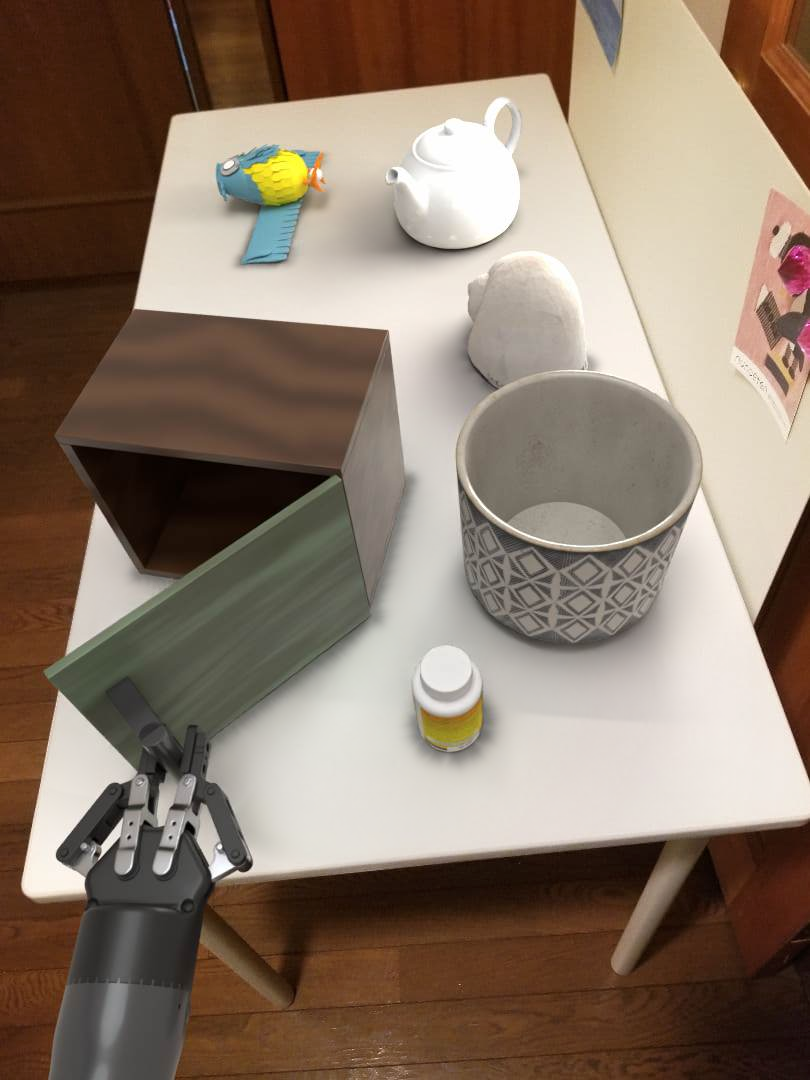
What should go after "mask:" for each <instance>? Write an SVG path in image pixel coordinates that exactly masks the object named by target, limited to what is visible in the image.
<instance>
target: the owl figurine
mask: <svg viewBox="0 0 810 1080" xmlns="http://www.w3.org/2000/svg"><path fill="white" fill-rule="evenodd" d="M324 154H325V151H323V152H321V151H308V152H306V151H305V150H303V149H292V150H288V149H286V148H285V149H284V148H280V144H275V143H274V144H272V145H268V144H264V145H262V146H260V147H258V146H255V147H254V148H253V149H251V150H250V151H249V152H247V153H246V152H243V153H240V154H235V155H233V156H230V157H228V158H226V160H225V161H223V162H221V163H219V162H217V163H216V165H215V181H216V185H217V188H218V192H219V194H220V196H221V197H222V198H223V200H224V201H225V202H227V201H228V197H227V196H231V197H233V198H236V199H238V200H242V201H247V202H250V203H253V204H254V203H255V204H260V205H261V207H260V210H259V213H258V216H257V219H256V222H255V225H254V229H253V231H252V235H251V238H250V241H249V243H248V246H247V248H246V249H247V250H246V252H245V254H243V255H242V257H241V265H246V264H247V265H248V264H265V263H274V262H281V261H284V260H286V259H287V257H288V256H287V253H289V252H290V251H291V250H290V248H289V246H291V244H292V241H291V240H290V239H292V238H293V234H292V233H293V232H294V231H295V228H294V227H295V226H296V224H297V222H296V220H298V218H299V216H298V214H299V213H300V208H302V204H301V203H302V202H303V198H302V197H303V196H304V195H305V194H306V193H307V191H308V189H309V185H310V187H312V188H313V189H314V190H316V191H318V192H321V193H324V190H323V189H322V186H320V185H319V182H320V183H322V184H323V185H326V182H325V178H324V176H323V172H322V170H321V167H322V160H323V157H324Z"/></svg>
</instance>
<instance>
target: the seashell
mask: <svg viewBox="0 0 810 1080" xmlns="http://www.w3.org/2000/svg"><path fill="white" fill-rule="evenodd" d="M467 296H468V300H467V312H468V313H467V314H468V316H469V318H470V320H471V321H472V323H473V325H472V328H471V332H470V333H469V337H468V341H467V354H468V357H469V358H470V361H471V363H472V365H473V366H474V367H475V368H476V369H477V370H478V371H479V372H480V374H482V376H483V377H484V378H485V379H486V380H487V381H488V382H489V383H490V384H491V385H492V386H493V387H495V388H497V389H500V388H501V387H503V386H505V385H507V384H509V383H512V382H514V381H516V380H519V379H522V378H525V377H528V376H531V375H535V374H540V373H545V372H552V371H563V370H582V371H588V368H589V362H588V357H587V349H586V348H587V347H586V335H585V332H586V331H585V330H586V329H585V320H584V319H585V318H584V312H583V311H584V310H583V305H582V300H581V297H580V293H579V289H578V287H577V285H576V283H575V281H574V279H573V277H572V275H571V274H570V272H569V271H568V269H567V268H566V267H565V265H564V264H563V263H561V262H560V261H559V260H558V259H556V258H555V257H553V256H551V255H548V254H546V253H542V252H539V251H534V250H526V251H525V250H523V251H522V250H521V251H516V252H513V253H509V254H507V255H504V256H502V257H501V258H499V259H498V260H497V261H495V262H494V263H493V264H492V266H491V267H490V269H488V271H487V272H486V273H482V274H480V275H477V276H476V277H475V278H474V279H473V280H471V281H470V282H469V283H468V284H467Z"/></svg>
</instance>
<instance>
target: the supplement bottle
mask: <svg viewBox="0 0 810 1080" xmlns="http://www.w3.org/2000/svg"><path fill="white" fill-rule="evenodd" d="M411 676H412V677H411V692H412V699H413V706H414V712H415V717H416V723H417V729H418V731H419V734H420V735H421V737H422V739H423V740H424V741H425V742H426V743H427V744H428V745H429V746H431V747H432V748H433V749H436V750H439V751H441V752H446V753H453V752H454V753H455V752H459V751H462V750H465V749H467V748H468V747H470V746H471V745H472V744H473V743H474V742H475V741H476V740H477V739H478V738H479V736H480V734H481V731H482V728H483V721H484V717H483V716H484V715H483V714H484V710H483V709H484V708H483V707H484V703H483V702H484V701H483V699H484V698H483V695H484V694H483V693H484V691H483V690H484V689H483V688H484V683H483V677H482V673H481V670H480V668H479V666H478V665H477V664H476V663H475V661H474V660H473V659H472V658H470V657H469V655H468V654H467V653H466V652H465V651H464V650H463V649H461V648H459V647H458V646H454V645H449V644H443V645H438V646H435V647H433V648H431V649H430V650H428V651H426V653H425V654H424V656H423V657H422V659H421V660H420V661H419V663H418V664H417V666H416V667H415V668H414V671H413V674H412V675H411Z"/></svg>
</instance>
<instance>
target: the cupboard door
mask: <svg viewBox="0 0 810 1080" xmlns="http://www.w3.org/2000/svg"><path fill="white" fill-rule="evenodd" d="M370 617H371V611H370V608H369V606H368V601H367V596H366V592H365V587H364V582H363V578H362V573H361V568H360V564H359V559H358V555H357V550H356V545H355V541H354V536H353V531H352V527H351V522H350V517H349V513H348V508H347V503H346V499H345V494H344V490H343V485H342V480H341V479H340V478H339V477H338V476H336V475H334V476H332V477H331V478H329V479H328V480H327V481H325V482H324V483H322V484H321V485H319V486H318V487H316V488H315V489H313V490H312V491H310V492H309V493H307V494H306V495H304V496H303V497H301V498H300V499H298V500H297V501H295V502H294V503H292V504H291V505H289V506H288V507H286V508H285V509H283V510H282V511H280V512H279V513H277V514H276V515H274V516H273V517H271V518H270V519H269V520H267V521H266V522H264V523H263V524H261V525H260V526H258V527H257V528H255V529H254V530H252V531H251V532H249V533H248V534H246V535H245V536H243V537H242V538H240V539H239V540H237V541H236V542H234V543H233V544H231V545H230V546H228V547H227V548H225V549H224V550H222V551H221V552H219V553H218V554H216V555H215V556H213V557H212V558H211V559H209V560H208V561H206V562H205V563H203V564H202V565H200V566H199V567H197V568H196V569H194V570H193V571H191V572H190V573H188V574H187V575H185V576H184V577H182V578H181V579H177V580H176V581H175V582H173V583H171V584H170V585H169V586H167V587H165V588H164V589H163V590H161V591H160V592H159V593H157V594H155V595H154V596H152V597H151V598H150V599H148V600H147V601H145V602H143V603H142V604H141V605H139V606H137V607H136V608H135V609H132V610H131V611H130V612H128V613H127V614H126V615H124V616H123V617H121V618H119V619H118V620H117V621H115V622H114V623H112V624H111V625H109V626H108V627H106V628H105V629H103V630H102V631H101V632H98V634H95V635H94V636H93V637H91V638H90V639H89V640H87V641H86V642H83V644H81V645H79V646H78V647H76V648H75V649H73V650H72V651H71V652H69V653H68V654H67V655H65V656H63V657H62V658H60V659H58V660H57V661H56V662H53V664H51V665H50V666H48V667H47V668H46V669H44V670H43V674H44V675H45V677H46V678H47V680H48V681H49V682H50V683H51V684H52V685H53V686H54V687H55V688H56V689H57V690H58V692H59V693H61V695H62V696H63V697H65V699H67V700H68V701H69V703H71V705H72V706H73V707H74V708H75V710H77V711H78V712H79V713H81V715H82V716H83V717H84V718H85V719H86V721H88V722H89V723H90V724H91V725H92V726H93V728H95V730H97V731H98V733H99V734H100V735H101V736H102V737H103V738H104V739H105V740H106V741H107V742H108V743H109V744H110V746H112V747H113V748H114V749H115V750H116V751H117V752H118V754H119V755H121V757H123V759H124V760H125V761H126V762H127V763H128V764H129V765H130V766H131V767H132V768H133V769H134V771H136V772H138V768H139V764H140V759H141V754H142V750H143V747H144V748H145V749H146V750H147V751H148V752H149V753H150V755H151V756H152V757H153V758H154V759H155V760H156V761H157V762H158V764H159V765H160V766H161V767H162V768H163V769H164V770H165V772H166V775H168V777H170V778H171V780H172V781H173V782H174V783H175V785H176V786H178V784H179V780H180V778H181V777H182V776H181V775H180V773H179V769H180V764H181V759H182V753H183V748H184V743H185V738H186V732H187V728H188V725H200V727H201V728H202V730H203V731H204V733H205V734H206V736H207V737H208V738H209V740H210V739H211V738H213V737H214V736H215V735H216V734H218V733H219V732H221V731H222V730H223V729H224V728H225V727H226V726H228V725H230V724H231V723H232V722H234V721H235V720H236V719H237V718H238V717H240V716H241V715H243V714H244V713H245V712H247V711H248V710H249V709H250V708H252V707H253V706H254V705H256V704H257V703H258V702H260V701H261V700H263V699H264V698H265V697H267V695H269V694H270V693H272V692H273V691H274V690H275V689H277V688H279V686H281V685H282V684H284V683H285V682H286V681H287V680H288V679H290V678H291V677H292V676H294V675H295V674H297V673H298V672H299V671H300V670H301V669H303V668H304V667H305V666H307V665H308V664H310V663H311V662H312V661H313V660H315V659H316V658H318V657H319V656H320V655H322V654H323V653H324V652H325V651H327V650H328V649H330V648H331V647H332V646H333V645H335V644H336V643H337V642H338V641H340V640H341V639H342V638H343V637H345V636H346V635H348V634H349V633H350V632H352V631H353V630H354V629H356V628H357V627H358V626H360V625H361V624H362V623H363V622H365V621H366V620H367V619H369V618H370ZM164 725H167V727H168V728H169V729H170V730H171V732H172V734H173V737H172V736H171V735H170V733H169V732H168V731H167V729H166V728H165V726H164Z"/></svg>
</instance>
